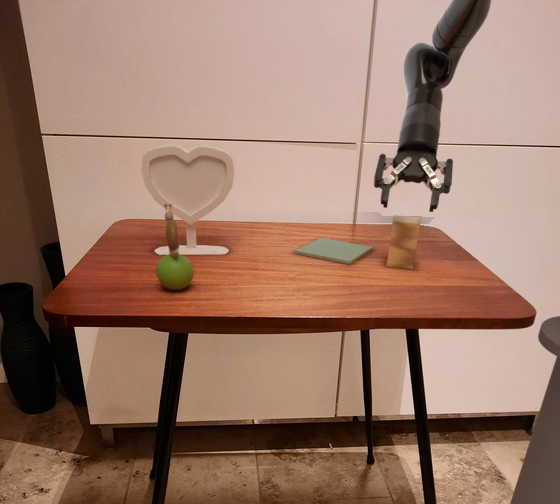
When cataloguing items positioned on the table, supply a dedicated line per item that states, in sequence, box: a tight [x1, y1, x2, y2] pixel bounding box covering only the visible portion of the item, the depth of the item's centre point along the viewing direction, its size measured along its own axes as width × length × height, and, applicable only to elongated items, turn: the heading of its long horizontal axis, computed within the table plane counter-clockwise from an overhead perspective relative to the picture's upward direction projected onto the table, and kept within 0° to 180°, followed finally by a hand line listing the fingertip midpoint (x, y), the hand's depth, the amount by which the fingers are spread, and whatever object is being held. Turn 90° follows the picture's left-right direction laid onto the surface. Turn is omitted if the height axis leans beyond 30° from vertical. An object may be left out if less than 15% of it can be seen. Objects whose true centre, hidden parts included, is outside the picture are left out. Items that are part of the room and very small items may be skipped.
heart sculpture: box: [140, 143, 235, 256], centre depth 96 cm, size 16×5×18 cm, turn 98°
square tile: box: [294, 237, 373, 265], centre depth 103 cm, size 11×11×1 cm
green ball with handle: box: [156, 203, 194, 291], centre depth 80 cm, size 5×6×12 cm
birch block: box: [386, 214, 422, 270], centre depth 96 cm, size 5×5×8 cm
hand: (408, 207), depth 102 cm, fingers open, 8 cm apart
